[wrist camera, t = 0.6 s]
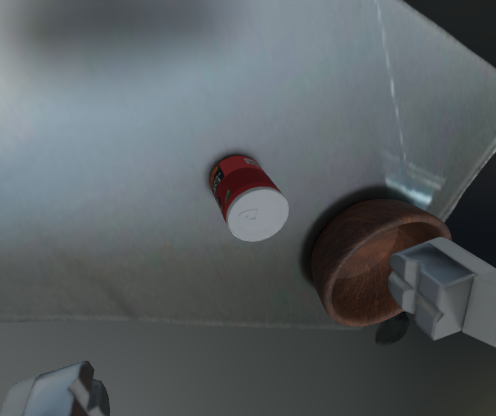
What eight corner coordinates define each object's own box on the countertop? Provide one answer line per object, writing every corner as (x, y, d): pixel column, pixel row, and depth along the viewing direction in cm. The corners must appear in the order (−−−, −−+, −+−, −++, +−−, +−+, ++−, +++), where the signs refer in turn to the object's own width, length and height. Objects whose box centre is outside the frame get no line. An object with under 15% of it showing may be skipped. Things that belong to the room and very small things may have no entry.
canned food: (203, 161, 45) (222, 199, 36) (257, 147, 47) (287, 181, 38) (214, 206, 50) (232, 250, 41) (262, 192, 51) (291, 231, 42)
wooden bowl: (322, 182, 54) (358, 214, 45) (432, 188, 63) (478, 217, 54) (284, 293, 65) (307, 335, 57) (381, 285, 74) (413, 320, 66)
